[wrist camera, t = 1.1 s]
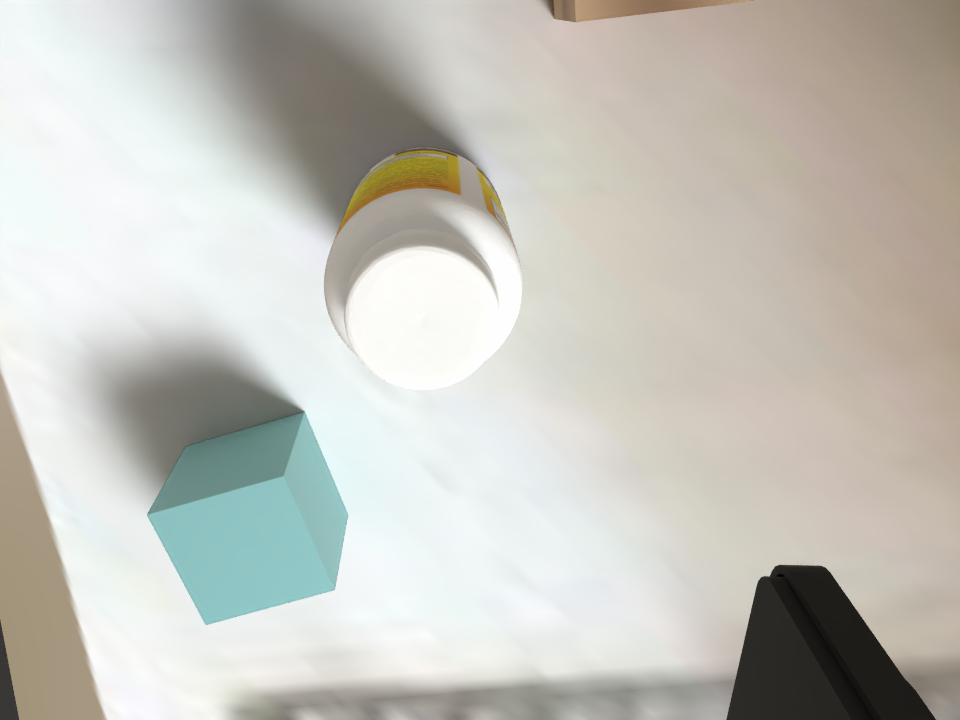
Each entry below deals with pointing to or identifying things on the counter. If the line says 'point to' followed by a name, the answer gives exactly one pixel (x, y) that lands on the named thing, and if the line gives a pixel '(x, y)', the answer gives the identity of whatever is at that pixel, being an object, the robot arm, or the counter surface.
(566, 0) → the walnut block
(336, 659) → the counter surface
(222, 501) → the teal block
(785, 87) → the counter surface
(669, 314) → the counter surface
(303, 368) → the counter surface
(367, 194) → the supplement bottle
